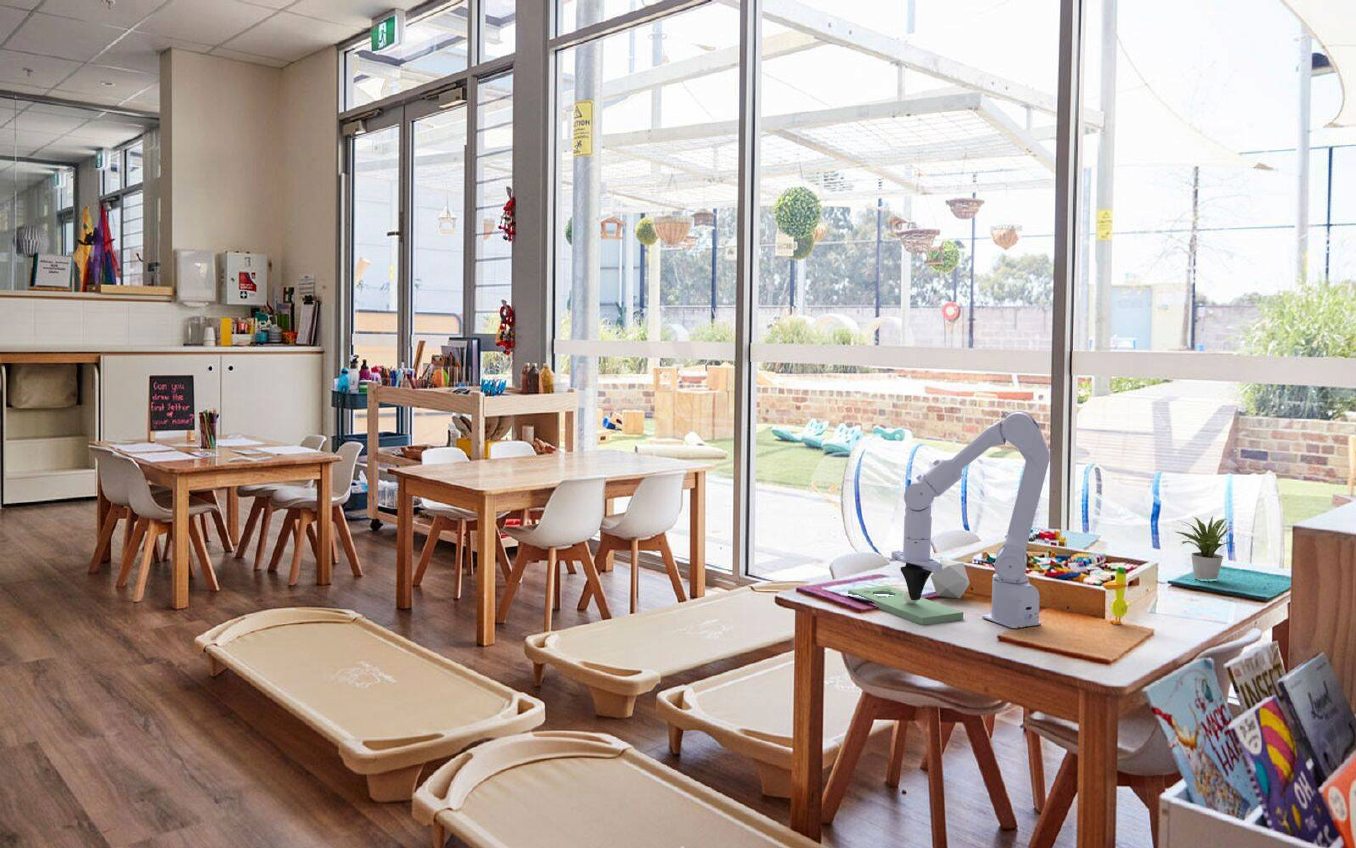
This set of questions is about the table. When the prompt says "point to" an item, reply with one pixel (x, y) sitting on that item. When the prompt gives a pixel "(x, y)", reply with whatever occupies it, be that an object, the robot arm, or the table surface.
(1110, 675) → the table surface
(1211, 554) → the house plant
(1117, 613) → the toy figure
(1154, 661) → the table surface
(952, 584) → the die
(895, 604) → the green
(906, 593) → the ball
